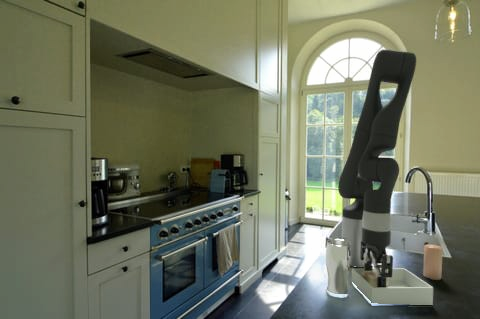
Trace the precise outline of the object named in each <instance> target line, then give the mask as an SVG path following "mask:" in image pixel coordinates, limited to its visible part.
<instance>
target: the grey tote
mask: <svg viewBox="0 0 480 319" xmlns="http://www.w3.org/2000/svg"><path fill="white" fill-rule="evenodd" d="M362 271H364V268H351V283H352V282H353V283H354V284H355V285H356V286H357V288H358V289H359V290H360V291H361V292H362V293H363V294H364V295H365V296H366V297H367V298H368V299H369V300H370V301H371V303H378V304H410V305H434V304H433V302H434V286H432V285H431V284H428V282H426V281H424V280H422V279H421V278H420V277H418V276H417V275H416V274H414V273H413V272H411V271H410V270H408V269H406V268H403V267H401V268H399V267H397V268H393V269H392V277H391V278H388V287H376V288H373V287H372V286H371V285H370V284H369V283H368V282H367V281H366V280H365V279H364V278H363V277H362ZM372 271H377V270H376V268H373V269H372ZM380 271H381V268H380ZM387 271H388V269H387Z"/></svg>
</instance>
